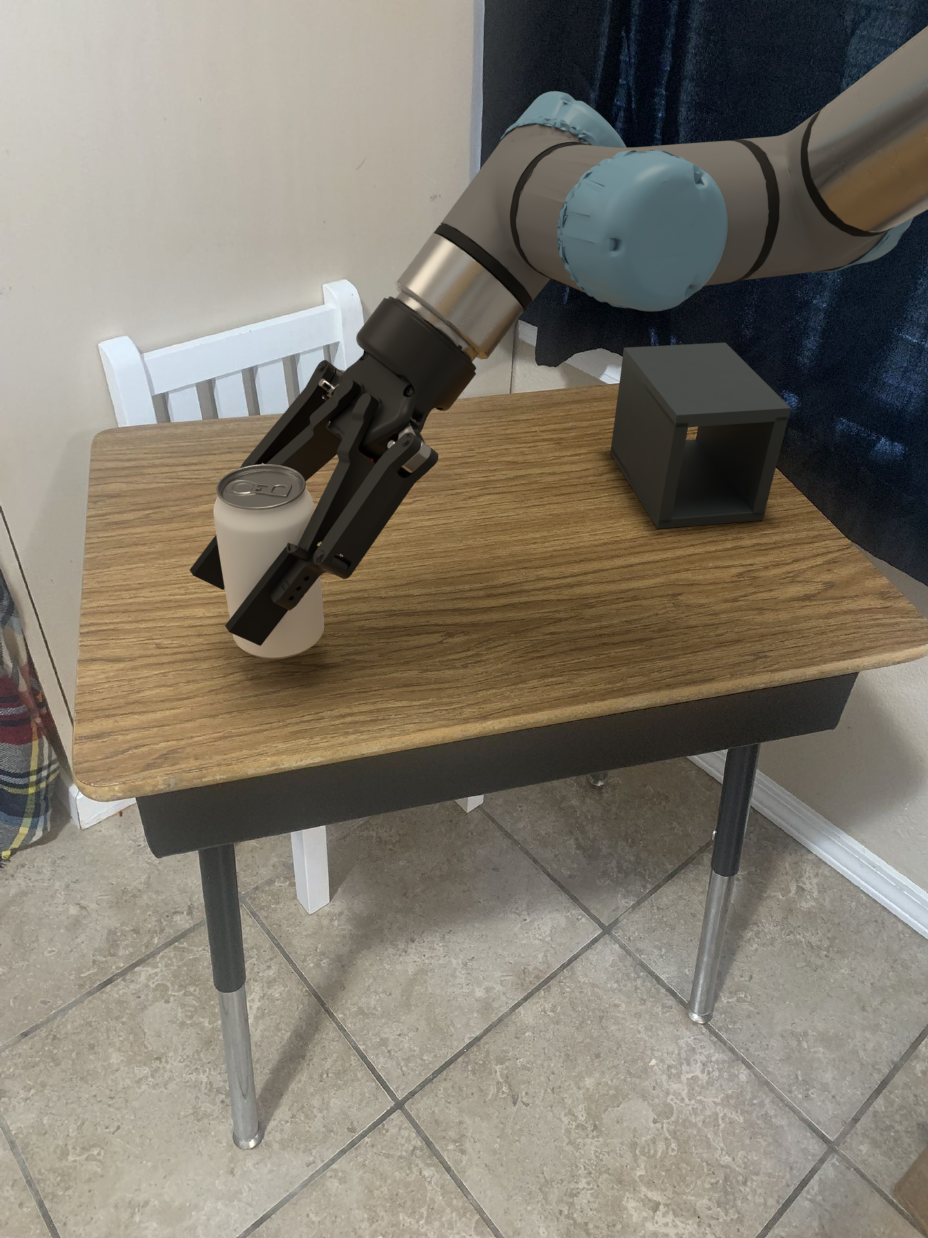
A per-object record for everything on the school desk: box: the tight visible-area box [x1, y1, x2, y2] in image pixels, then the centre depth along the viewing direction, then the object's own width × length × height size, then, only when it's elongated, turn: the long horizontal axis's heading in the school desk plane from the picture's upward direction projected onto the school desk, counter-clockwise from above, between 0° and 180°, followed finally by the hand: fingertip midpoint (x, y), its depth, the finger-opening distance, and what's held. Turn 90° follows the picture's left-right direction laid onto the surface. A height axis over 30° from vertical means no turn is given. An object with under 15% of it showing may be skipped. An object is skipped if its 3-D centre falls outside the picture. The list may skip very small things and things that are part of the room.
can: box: [212, 463, 325, 660], centre depth 66 cm, size 6×6×12 cm
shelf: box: [610, 342, 792, 530], centre depth 89 cm, size 14×10×11 cm
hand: (224, 606), depth 66 cm, fingers closed on can, 6 cm apart
